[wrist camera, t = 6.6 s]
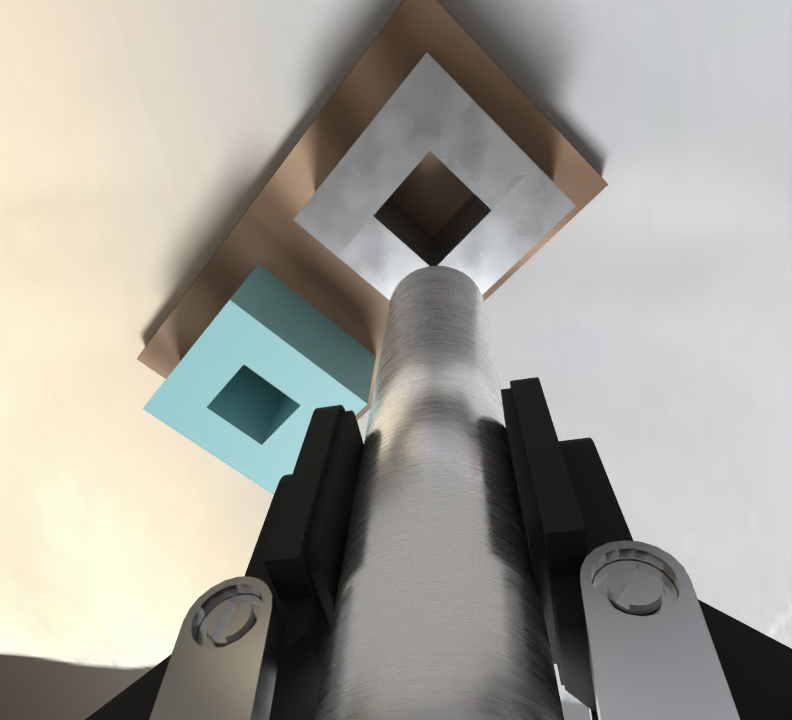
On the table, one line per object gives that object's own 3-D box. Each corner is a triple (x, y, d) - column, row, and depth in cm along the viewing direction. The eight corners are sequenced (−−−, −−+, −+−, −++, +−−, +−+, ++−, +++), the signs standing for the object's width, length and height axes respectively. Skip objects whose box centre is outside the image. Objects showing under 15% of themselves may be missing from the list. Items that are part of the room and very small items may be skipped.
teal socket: (258, 263, 36) (229, 299, 31) (376, 356, 39) (367, 403, 34) (180, 361, 40) (142, 408, 35) (291, 439, 43) (272, 493, 38)
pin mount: (427, 51, 30) (426, 52, 25) (553, 181, 33) (576, 206, 28) (314, 193, 34) (293, 219, 29) (435, 297, 37) (435, 338, 31)
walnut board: (419, -16, 30) (418, -20, 28) (601, 179, 34) (608, 184, 33) (145, 349, 42) (136, 358, 40) (306, 459, 46) (302, 471, 45)
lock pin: (433, 207, 16) (423, 942, 3) (542, 308, 17) (884, 1140, 4) (334, 314, 18) (45, 1066, 5) (439, 398, 19) (447, 1175, 6)
